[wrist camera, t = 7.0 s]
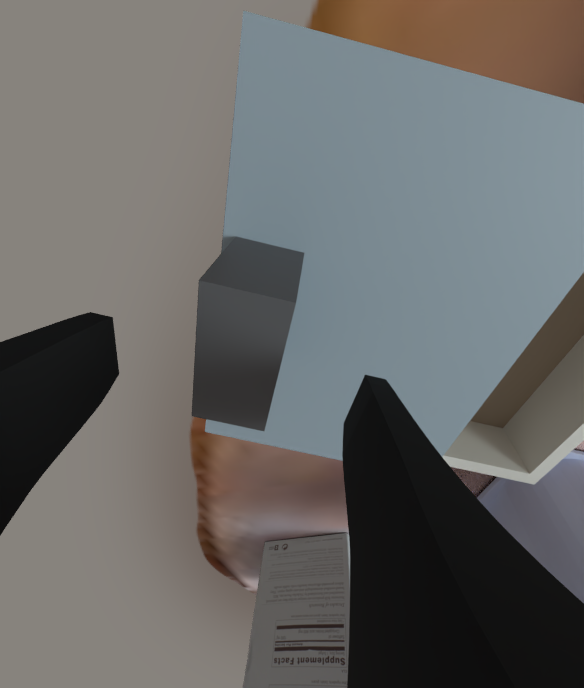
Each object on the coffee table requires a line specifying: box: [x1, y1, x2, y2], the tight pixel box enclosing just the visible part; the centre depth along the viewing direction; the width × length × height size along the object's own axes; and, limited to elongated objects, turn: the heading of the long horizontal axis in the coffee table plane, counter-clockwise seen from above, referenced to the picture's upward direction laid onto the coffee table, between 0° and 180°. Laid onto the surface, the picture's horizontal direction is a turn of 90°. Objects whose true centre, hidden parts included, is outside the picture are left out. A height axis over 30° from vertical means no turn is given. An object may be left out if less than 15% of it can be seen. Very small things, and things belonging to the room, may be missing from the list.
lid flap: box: [192, 11, 584, 461], centre depth 12 cm, size 16×12×5 cm
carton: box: [442, 272, 584, 485], centre depth 16 cm, size 16×12×4 cm
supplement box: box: [243, 533, 350, 688], centre depth 28 cm, size 10×9×17 cm
